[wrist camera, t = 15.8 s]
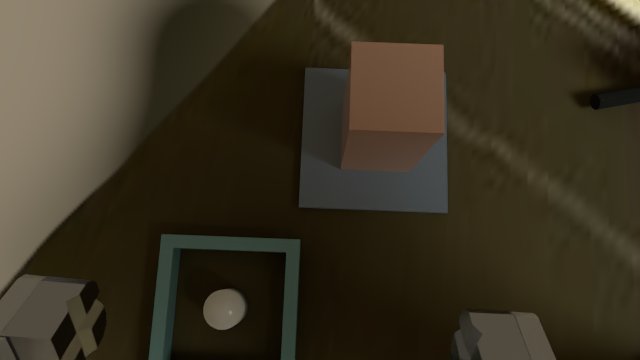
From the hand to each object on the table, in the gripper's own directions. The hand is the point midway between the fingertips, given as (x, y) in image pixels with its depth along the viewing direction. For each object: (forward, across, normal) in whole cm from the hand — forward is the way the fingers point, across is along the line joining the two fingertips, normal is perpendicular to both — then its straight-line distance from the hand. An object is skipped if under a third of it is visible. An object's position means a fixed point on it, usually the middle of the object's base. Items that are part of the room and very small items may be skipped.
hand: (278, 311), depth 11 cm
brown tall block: (+27, -5, +10) cm, 30 cm away
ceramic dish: (+18, +6, +21) cm, 28 cm away
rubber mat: (+28, -5, +10) cm, 30 cm away
